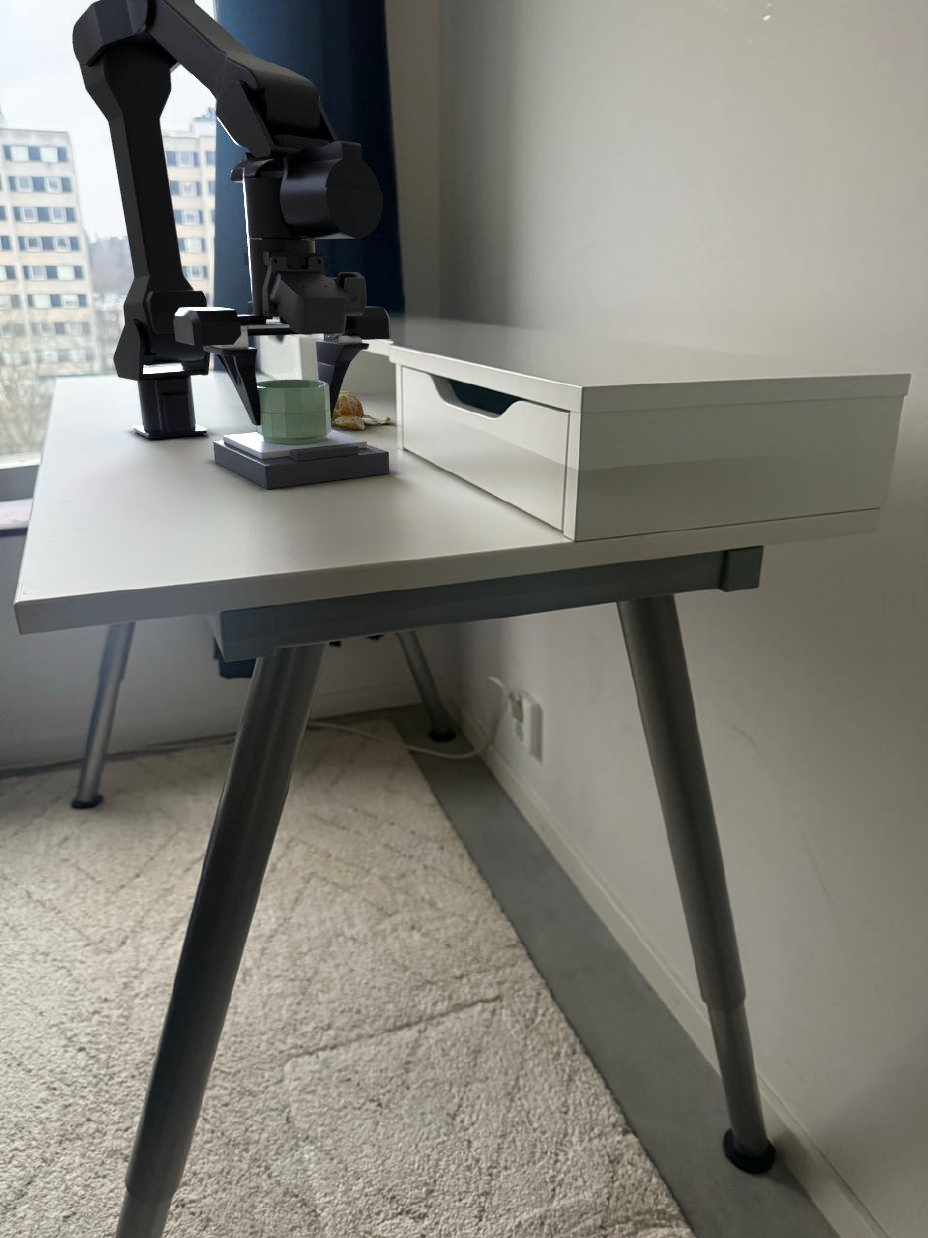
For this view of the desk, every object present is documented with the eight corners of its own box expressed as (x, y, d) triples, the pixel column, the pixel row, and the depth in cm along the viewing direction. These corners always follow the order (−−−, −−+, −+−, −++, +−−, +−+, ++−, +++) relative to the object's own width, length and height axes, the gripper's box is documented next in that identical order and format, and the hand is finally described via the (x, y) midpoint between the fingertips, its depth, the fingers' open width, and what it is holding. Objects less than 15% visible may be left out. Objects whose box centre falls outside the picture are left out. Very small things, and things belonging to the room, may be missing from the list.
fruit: (350, 431, 99) (349, 399, 98) (298, 424, 103) (296, 392, 102) (395, 422, 105) (395, 391, 104) (344, 415, 110) (343, 386, 108)
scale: (214, 462, 83) (211, 432, 82) (327, 449, 89) (326, 422, 88) (266, 489, 73) (264, 456, 72) (389, 473, 79) (389, 442, 78)
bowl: (246, 436, 82) (242, 381, 80) (312, 429, 85) (309, 377, 83) (274, 447, 77) (270, 390, 75) (343, 440, 80) (341, 385, 78)
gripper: (206, 234, 64) (226, 445, 69) (421, 241, 73) (422, 426, 79) (162, 237, 72) (183, 425, 78) (360, 243, 82) (365, 409, 88)
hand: (292, 421), depth 81 cm, fingers closed on bowl, 7 cm apart
